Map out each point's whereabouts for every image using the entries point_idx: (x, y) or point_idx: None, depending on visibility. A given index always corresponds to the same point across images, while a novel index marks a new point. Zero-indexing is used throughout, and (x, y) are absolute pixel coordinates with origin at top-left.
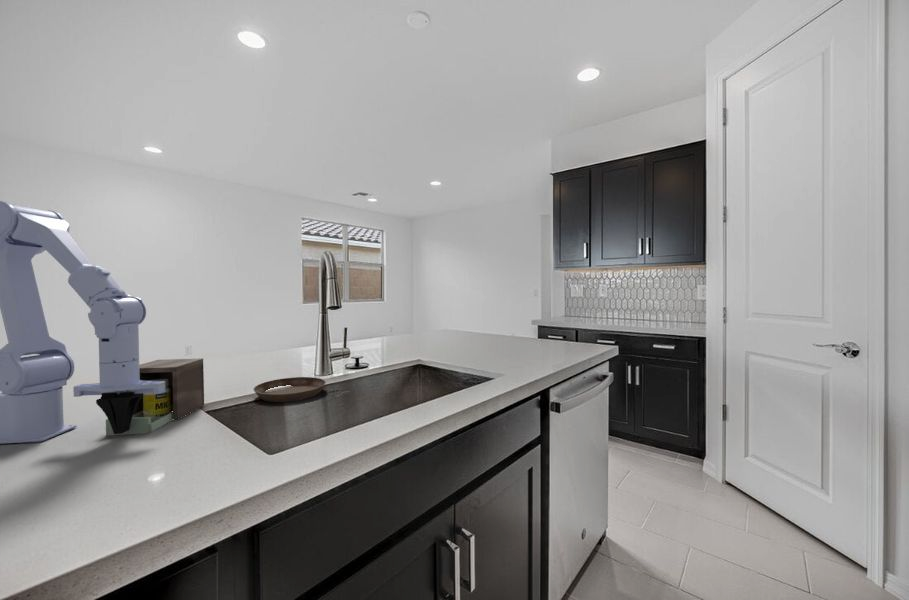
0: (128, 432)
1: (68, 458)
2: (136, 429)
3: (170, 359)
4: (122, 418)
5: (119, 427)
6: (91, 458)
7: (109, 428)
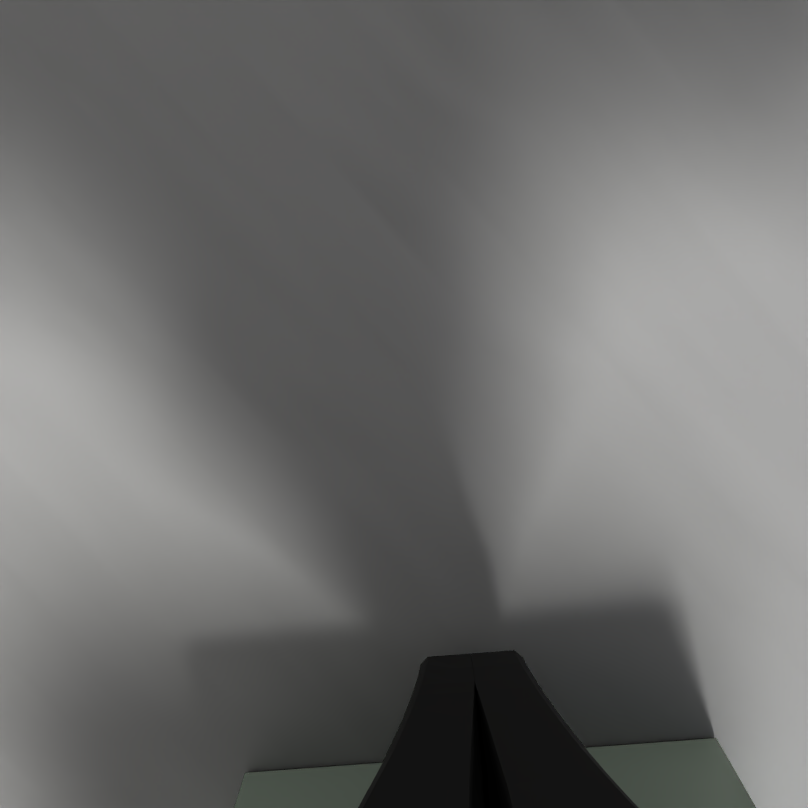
0: None
1: (575, 16)
2: None
3: None
4: (365, 804)
5: (431, 698)
6: (259, 2)
7: (707, 806)
